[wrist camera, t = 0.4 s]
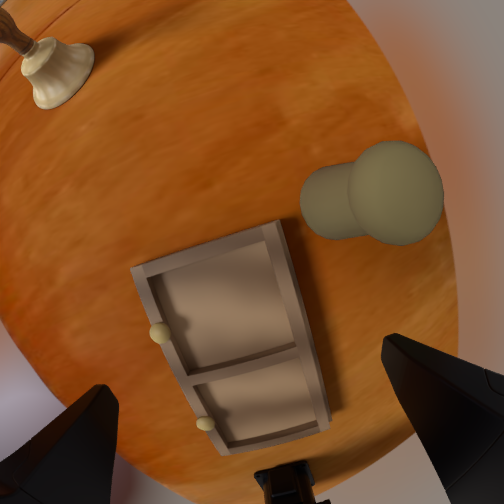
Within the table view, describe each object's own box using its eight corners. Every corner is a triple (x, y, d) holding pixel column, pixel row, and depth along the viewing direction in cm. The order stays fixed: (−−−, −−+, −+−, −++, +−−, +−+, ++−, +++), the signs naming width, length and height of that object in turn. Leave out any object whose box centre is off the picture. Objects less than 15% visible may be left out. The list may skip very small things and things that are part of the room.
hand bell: (108, 46, 18) (35, -48, 2) (67, 115, 19) (-47, 52, 3) (60, 44, 17) (-11, -21, 2) (25, 105, 18) (-69, 62, 2)
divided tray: (329, 413, 23) (336, 429, 21) (217, 442, 23) (216, 459, 21) (277, 219, 21) (282, 219, 18) (135, 265, 21) (122, 271, 18)
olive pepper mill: (366, 167, 21) (452, 135, 10) (369, 238, 21) (460, 255, 10) (297, 164, 20) (351, 115, 10) (301, 241, 21) (360, 263, 10)
